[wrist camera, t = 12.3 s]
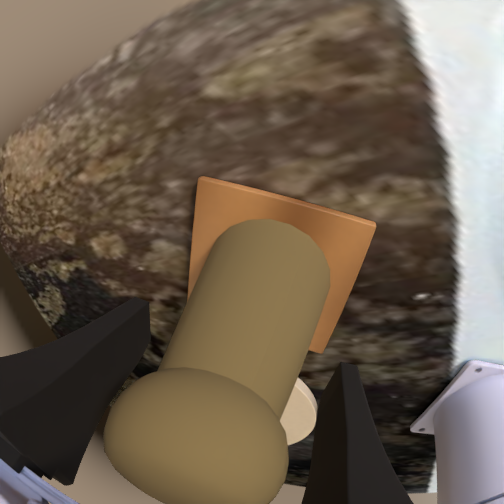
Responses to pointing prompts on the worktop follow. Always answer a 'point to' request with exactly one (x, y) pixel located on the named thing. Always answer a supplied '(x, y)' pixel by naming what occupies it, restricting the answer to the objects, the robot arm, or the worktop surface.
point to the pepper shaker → (225, 374)
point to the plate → (299, 413)
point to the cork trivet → (291, 212)
